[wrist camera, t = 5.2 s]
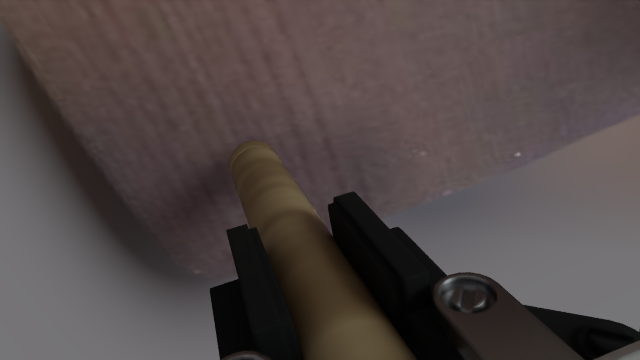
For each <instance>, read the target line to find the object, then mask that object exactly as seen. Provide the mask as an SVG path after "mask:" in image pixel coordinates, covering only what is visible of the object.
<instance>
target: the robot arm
mask: <svg viewBox="0 0 640 360" xmlns="http://www.w3.org/2000/svg"><path fill="white" fill-rule="evenodd" d="M333 202H334V203H332V204H328V211H329V217H330V222H331V227H332V233H333V237H334V239H335V240H336V242H337V243H338V245H339V246H340V248H341V249H342V251H343V252H344V253H345V255H346V256H347V258H348V259H349V261H350V262H351V264H352V265H353V267H354V268H355V270H356V271H357V273H358V274H359V275H360V277H361V278H362V280H363V281H364V283H365V284H366V286H367V287H368V289H369V290H370V292H371V293H372V294H373V296H374V297H375V299H376V300H377V302H378V303H379V305H380V306H381V308H382V309H383V311H384V312H385V313H386V315H387V316H388V318H389V319H390V321H391V322H392V324H393V325H394V327H395V328H396V330H397V331H398V333H399V334H400V335H401V337H402V338H403V340H404V341H405V343H406V344H407V346H408V347H409V349H410V350H411V352H412V353H413V354H414V356H415V357H416V359H417V360H640V331H639V332H638V331H636V330H635V329H632V328H630V327H628V326H626V325H624V324H621V323H617V322H614V321H610V320H605V319H599V318H594V317H589V316H583V315H577V314H571V313H566V312H561V311H555V310H549V309H544V308H537V307H533V306H527V305H522V304H521V303H520V302H519V301H518V300H516V299H515V298H514V297H513V296H512V295H511V294H510V293H508V291H506V290H505V289H504V288H503V287H502V286H501V285H500V284H499V283H497V282H496V281H494V280H493V279H491V278H489V277H487V276H484V275H481V274H476V273H470V272H468V273H467V272H466V273H456V274H451V275H448V276H447V275H446V274H445V273H444V272H443V271H442V270H441V269H440V268H439V267H438V266H437V265H436V264H435V263H434V262H433V261H432V260H431V259H430V258H429V257H428V256H427V255H426V254H425V253H424V252H423V251H422V250H421V249H420V248H419V247H418V246H417V245H416V244H415V242H414V241H412V239H411V238H410V237H408V235H407V234H406V233H404V231H403V230H401V229H400V228H399V227H395V228H392V229H389V228H388V227H387V226H386V225H385V224H384V223H383V222H382V221H381V219H380V218H379V217H378V216H377V215H376V214H375V213H374V212H373V211H372V210H371V209H370V208H369V207H368V206H367V205H366V203H365V202H364V201H363V200H362V199H361V198H360V197H359V196H358V195H357V194H356V193H355V192H354V191H353V192H350V193H346V194H343V195H340V196H336V197H334V199H333ZM226 231H227V235H228V239H229V243H230V247H231V251H232V255H233V259H234V263H235V267H236V271H237V274H238V278H239V279H237V280H234V281H231V282H228V283H225V284H222V285H219V286H216V287H213V288H210V295H211V302H212V309H213V315H214V322H215V329H216V335H217V342H218V348H219V355H220V360H303V359H302V355H301V351H300V347H299V343H298V339H297V335H296V332H295V328H294V325H293V321H292V318H291V315H290V312H289V310H288V307H287V305H286V302H285V299H284V297H283V294H282V292H281V289H280V286H279V284H278V281H277V279H276V276H275V274H274V271H273V268H272V266H271V263H270V261H269V258H268V255H267V253H266V250H265V248H264V245H263V243H262V240H261V237H260V235H259V232H258V230H257V227H254V228H251V229H248V226H247V224H245V225H242V226H238V227H235V228H232V229H228V230H226Z"/></svg>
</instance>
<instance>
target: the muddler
mask: <svg viewBox="0 0 640 360" xmlns="http://www.w3.org/2000/svg"><path fill="white" fill-rule="evenodd" d="M229 170H230V173H231V176H232V179H233V182H234V184H235V187H236V190H237V193H238V196H239V198H240V201H241V204H242V207H243V210H244V212H245V215H246V218H247V221H248V223H249V226H250V229H251V228H254V227H257V230H258V232H259V235H260V237H261V240H262V243H263V245H264V248H265V250H266V253H267V255H268V258H269V261H270V263H271V266H272V268H273V271H274V274H275V276H276V279H277V281H278V284H279V286H280V289H281V292H282V294H283V297H284V299H285V302H286V305H287V307H288V310H289V312H290V315H291V318H292V321H293V325H294V328H295V332H296V335H297V339H298V343H299V347H300V351H301V355H302V359H303V360H417V359H416V357H415V356H414V354H413V353H412V352H411V350H410V349H409V347H408V346H407V344H406V343H405V341H404V340H403V338H402V337H401V335H400V334H399V333H398V331H397V330H396V328H395V327H394V325H393V324H392V322H391V321H390V319H389V318H388V316H387V315H386V313H385V312H384V311H383V309H382V308H381V306H380V305H379V303H378V302H377V300H376V299H375V297H374V296H373V294H372V293H371V292H370V290H369V289H368V287H367V286H366V284H365V283H364V281H363V280H362V278H361V277H360V275H359V274H358V273H357V271H356V270H355V268H354V267H353V265H352V264H351V262H350V261H349V259H348V258H347V256H346V255H345V253H344V252H343V251H342V249H341V248H340V246H339V245H338V243H337V242H336V240H335V239H334V237H333V236H332V234H331V233H330V232H329V230H328V229H327V227H326V226H325V224H324V223H323V221H322V220H321V218H320V217H319V215H318V214H317V213H316V211H315V210H314V208H313V207H312V205H311V204H310V202H309V201H308V199H307V198H306V196H305V195H304V193H303V192H302V191H301V189H300V188H299V186H298V185H297V183H296V182H295V180H294V179H293V177H292V176H291V174H290V173H289V172H288V170H287V169H286V167H285V166H284V164H283V163H282V161H281V160H280V158H279V157H278V155H277V154H276V153H275V151H274V150H273V148H272V147H271V146H269V145H268V144H266V143H264V142H261V141H248V142H245V143H243V144H241V145H240V146H238V147H237V148H236V149H235V150H234V151H233V153H232V155H231V157H230V160H229Z"/></svg>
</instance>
